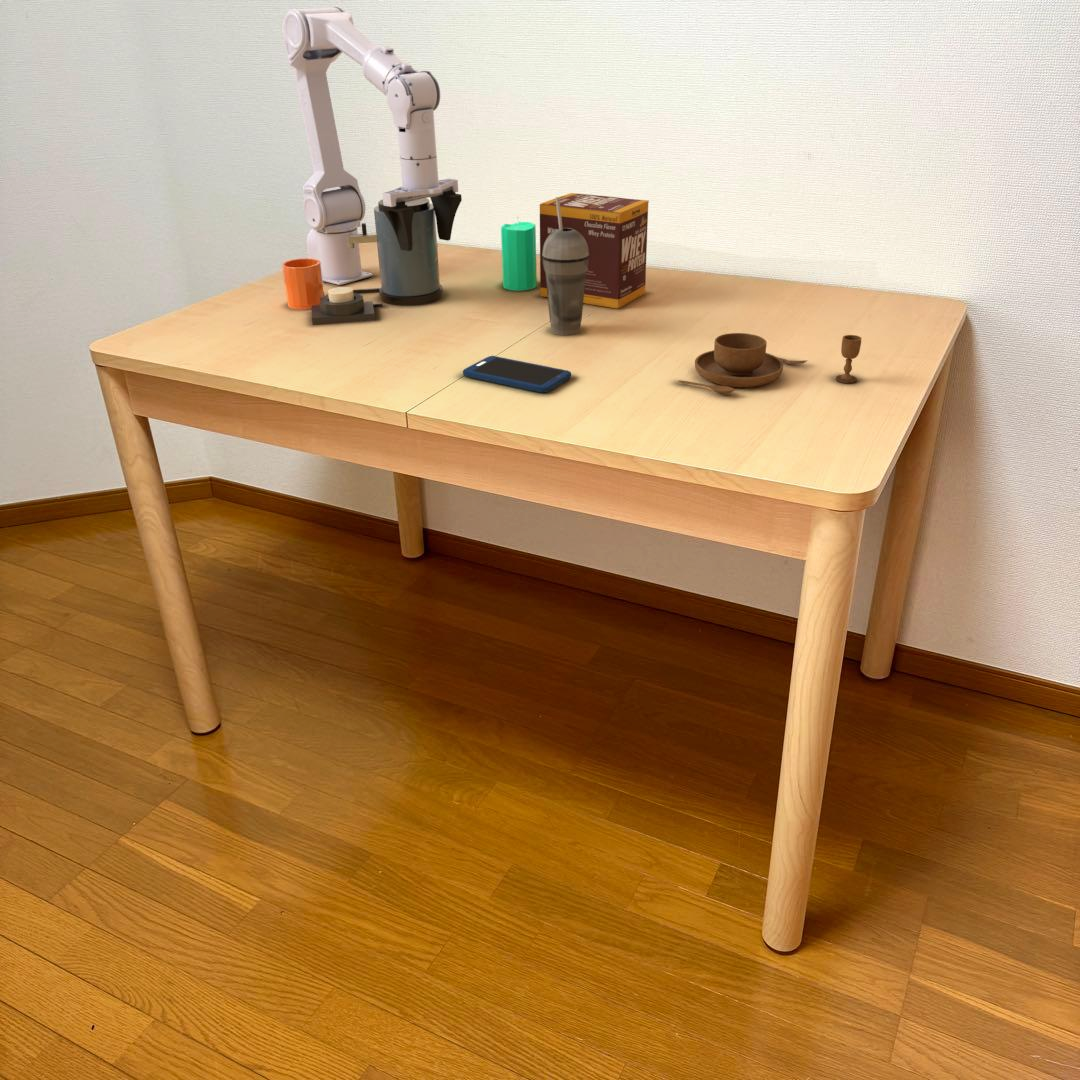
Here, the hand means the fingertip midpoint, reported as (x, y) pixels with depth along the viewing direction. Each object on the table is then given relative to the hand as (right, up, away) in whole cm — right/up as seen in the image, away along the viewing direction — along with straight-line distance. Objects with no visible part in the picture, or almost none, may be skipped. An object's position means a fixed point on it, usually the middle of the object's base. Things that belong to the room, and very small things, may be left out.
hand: (425, 244), depth 166 cm
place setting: (+49, -27, -28) cm, 63 cm away
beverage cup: (+23, -16, -8) cm, 29 cm away
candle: (+15, -3, +14) cm, 21 cm away
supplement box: (+28, -6, +8) cm, 30 cm away
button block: (-13, -12, 0) cm, 18 cm away
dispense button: (-13, -9, -1) cm, 16 cm away
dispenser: (-8, -7, +9) cm, 13 cm away
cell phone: (+16, -26, -25) cm, 39 cm away
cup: (-21, -8, +7) cm, 23 cm away
